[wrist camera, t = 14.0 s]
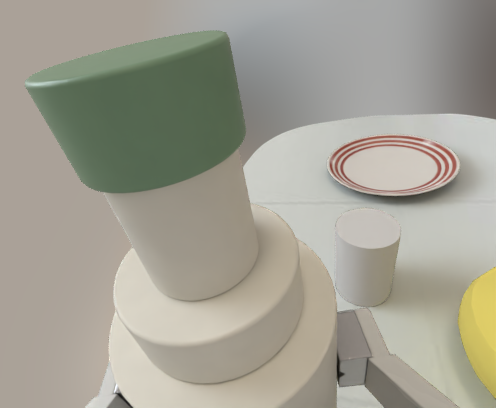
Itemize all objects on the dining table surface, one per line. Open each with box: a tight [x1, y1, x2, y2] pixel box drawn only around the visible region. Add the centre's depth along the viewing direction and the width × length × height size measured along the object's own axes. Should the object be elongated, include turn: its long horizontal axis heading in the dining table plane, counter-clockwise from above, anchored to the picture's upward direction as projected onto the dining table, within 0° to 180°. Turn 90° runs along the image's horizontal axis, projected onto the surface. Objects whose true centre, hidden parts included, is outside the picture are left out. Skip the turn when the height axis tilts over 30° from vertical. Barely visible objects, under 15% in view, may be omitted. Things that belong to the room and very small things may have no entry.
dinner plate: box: [327, 134, 460, 196], centre depth 69 cm, size 27×27×3 cm
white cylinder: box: [335, 208, 401, 307], centre depth 43 cm, size 8×8×12 cm
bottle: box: [25, 31, 337, 408], centre depth 10 cm, size 6×6×18 cm
